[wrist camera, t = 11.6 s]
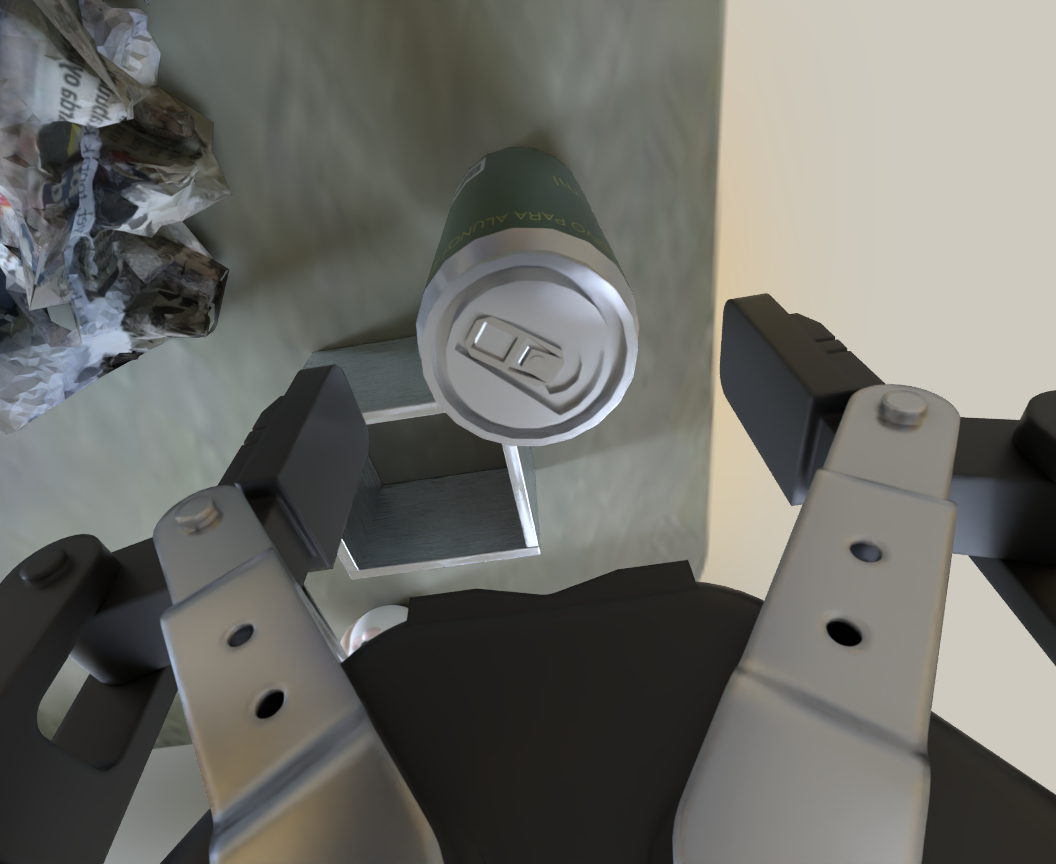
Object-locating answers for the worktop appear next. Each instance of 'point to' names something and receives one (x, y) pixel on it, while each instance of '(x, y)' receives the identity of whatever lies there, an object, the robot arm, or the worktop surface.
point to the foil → (94, 201)
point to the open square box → (427, 482)
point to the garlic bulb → (372, 626)
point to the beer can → (525, 306)
